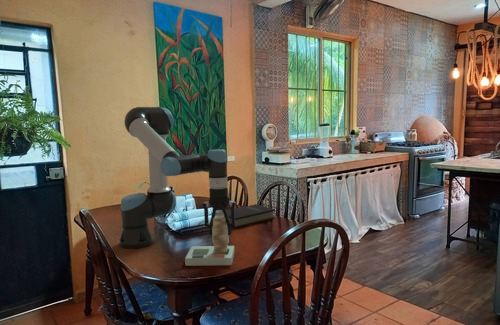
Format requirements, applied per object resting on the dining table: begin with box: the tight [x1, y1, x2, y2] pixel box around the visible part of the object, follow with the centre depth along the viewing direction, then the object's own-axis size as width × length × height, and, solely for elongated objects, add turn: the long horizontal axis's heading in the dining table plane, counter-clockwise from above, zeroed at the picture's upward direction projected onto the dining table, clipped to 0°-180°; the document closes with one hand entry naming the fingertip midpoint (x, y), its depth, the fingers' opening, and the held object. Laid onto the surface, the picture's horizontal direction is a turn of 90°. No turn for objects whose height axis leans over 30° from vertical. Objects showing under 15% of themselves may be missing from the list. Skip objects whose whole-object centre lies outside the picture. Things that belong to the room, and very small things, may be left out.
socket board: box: [184, 245, 235, 267], centre depth 145 cm, size 19×14×4 cm
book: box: [227, 203, 276, 229], centre depth 201 cm, size 28×20×6 cm
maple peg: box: [213, 216, 229, 252], centre depth 143 cm, size 5×5×14 cm
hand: (220, 242), depth 144 cm, fingers closed on maple peg, 5 cm apart
